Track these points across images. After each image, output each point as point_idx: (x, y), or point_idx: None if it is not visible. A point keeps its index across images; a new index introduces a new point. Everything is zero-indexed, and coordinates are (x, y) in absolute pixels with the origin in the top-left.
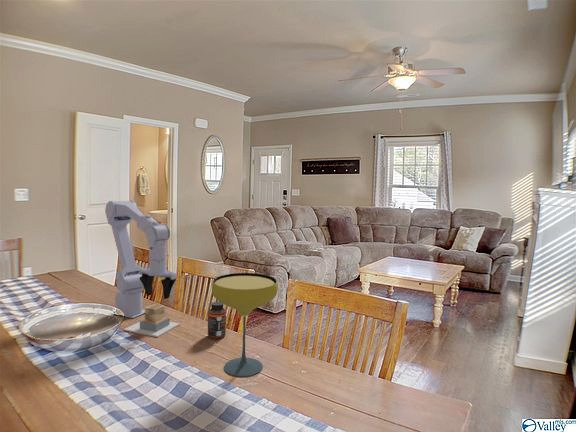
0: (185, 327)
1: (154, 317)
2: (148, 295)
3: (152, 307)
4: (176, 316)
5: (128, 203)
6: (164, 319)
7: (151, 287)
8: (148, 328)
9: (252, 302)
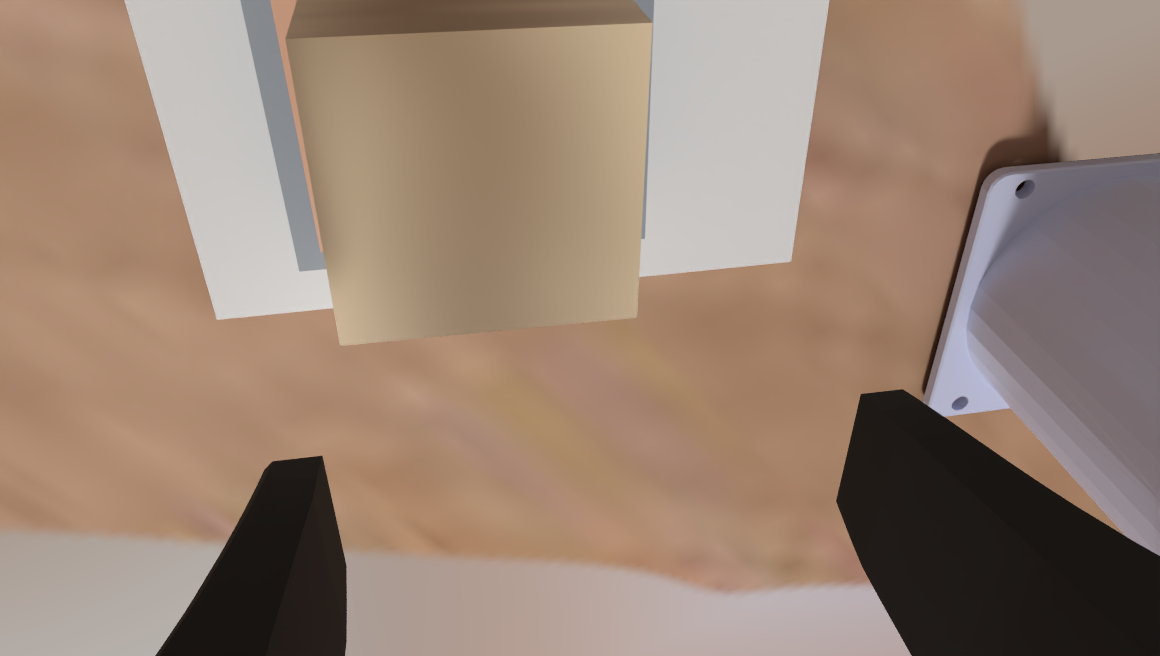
0: (61, 281)
1: None
2: (859, 417)
3: (496, 133)
4: (500, 477)
5: None
6: (303, 171)
7: (929, 650)
8: None
9: None
